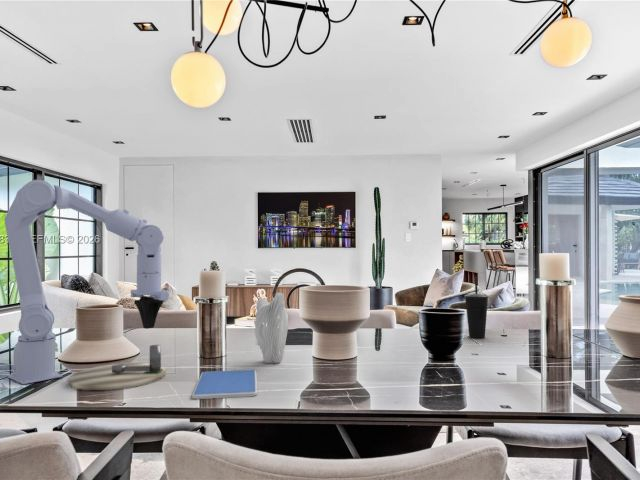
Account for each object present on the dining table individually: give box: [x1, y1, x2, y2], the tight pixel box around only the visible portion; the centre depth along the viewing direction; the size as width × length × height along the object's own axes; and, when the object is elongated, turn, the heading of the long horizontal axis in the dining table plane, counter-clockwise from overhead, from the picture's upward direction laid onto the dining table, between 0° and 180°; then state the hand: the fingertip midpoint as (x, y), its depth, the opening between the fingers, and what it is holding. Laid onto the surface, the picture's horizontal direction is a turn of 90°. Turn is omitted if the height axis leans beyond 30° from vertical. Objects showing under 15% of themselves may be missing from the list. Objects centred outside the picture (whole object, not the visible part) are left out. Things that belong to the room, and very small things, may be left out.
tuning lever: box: [112, 344, 162, 373], centre depth 105 cm, size 11×3×6 cm, turn 93°
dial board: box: [67, 362, 167, 391], centre depth 104 cm, size 20×20×1 cm
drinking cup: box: [464, 275, 490, 340], centre depth 152 cm, size 8×8×20 cm
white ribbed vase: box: [254, 292, 289, 364], centre depth 119 cm, size 8×8×18 cm
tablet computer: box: [191, 369, 258, 400], centre depth 99 cm, size 19×13×1 cm, turn 8°
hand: (148, 327), depth 115 cm, fingers closed
